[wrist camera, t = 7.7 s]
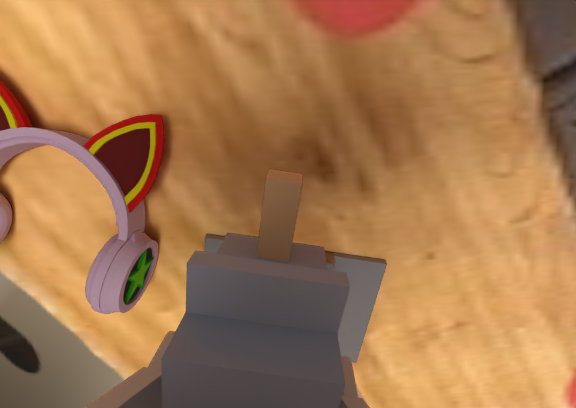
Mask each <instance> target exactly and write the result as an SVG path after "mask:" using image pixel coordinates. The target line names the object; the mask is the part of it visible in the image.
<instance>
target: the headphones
mask: <svg viewBox="0 0 576 408" xmlns="http://www.w3.org/2000/svg"><path fill="white" fill-rule="evenodd" d="M42 145H53V146H55V147H57V148H60V149H62V150H64V151H66V152H68V153H69V154H71V155H73V156H74V157H75V158H77V159H78V160H79V161H81V162H82V163H83V164H84V165H85V166H86V167H87V168H88V169H89V170H90V171H91V172H92V173H93V174H94V175H95V176H96V177H97V178H98V180H99V181H100V182H101V184H102V185H103V186H104V188H105V189H106V191H107V193H108V195H109V197H110V199H111V201H112V204H113V207H114V209H115V213H116V218H117V222H116V224H117V226H118V227H119V234H117V235H115V236H114V237H112V238H111V239H110V240H109V241H108V242H107V243H106V244H105V245H104V246H103V248H102V249H101V250H100V252H99V253H98V255H97V257H96V258H95V260H94V262H93V264H92V266H91V268H90V271H89V274H88V277H87V280H86V287H85V293H86V298H87V300H88V302H89V303H90V304H91V306H92V309H93V310H94V311H96V312H100V313H103V314H110V313H114V312H122V313H125V312H127V311H129V310H130V309H131V308H132V307H133V306H134V305H135V304H136V303H137V302H138V300H139V299H140V298H141V296H142V295H143V293H144V291H145V289H146V288H147V286H148V284H149V282H150V279H151V277H152V275H153V272H154V269H155V266H156V262H157V258H158V244H157V242H156V241H154V240H152V239H150V238H149V237H148V236H147V235H146V234H145V233H144V228H145V207H144V202H143V199H144V198H145V197H146V195H147V194H148V193H149V191H150V190H151V188H152V186H153V185H154V182H155V180H156V177H157V175H158V171H159V168H160V164H161V160H162V155H163V148H164V125H163V120H162V115H154V114H150V115H143V116H136V117H133V118H130V119H127V120H124V121H121V122H119V123H116V124H114V125H112V126H110V127H108V128H106V129H104V130H102V131H101V132H99V133H98V134H96V135H95V136H93V137H92V138H91V139H88V138H86V137H83V136H81V135H78V134H74V133H69V132H65V131H58V130H49V129H40V128H33V127H32V125H31V122H30V120H29V118H28V116H27V114H26V113H25V111H24V109H23V108H22V106H21V105H20V104H19V102H18V101H17V99H16V98H15V97H14V95H13V94H12V93H11V92H10V91H9V89H8V88H7V87H6V86H5V85H4V83H3V82H2V81H1V80H0V169H1V168H2V167H3V165H4V164H5V163H6V162H7V161H8V160H9V159H11V158H12V157H14V156H15V155H16V154H19V153H21V152H23V151H26V150H28V149H31V148H34V147H38V146H42ZM11 223H12V209H11V206H10V203H9V202H8V201H7V199H6V198H5V197H4V195H3V194H2V193H1V192H0V243H1V242H2V241H3V239H4V238H5V237H6V235H7V233H8V231H9V229H10V227H11Z"/></svg>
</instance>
